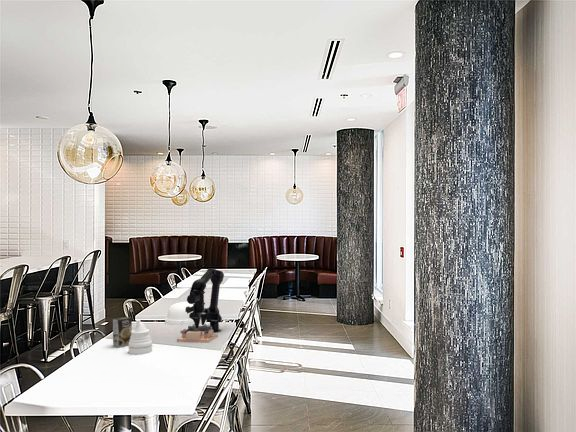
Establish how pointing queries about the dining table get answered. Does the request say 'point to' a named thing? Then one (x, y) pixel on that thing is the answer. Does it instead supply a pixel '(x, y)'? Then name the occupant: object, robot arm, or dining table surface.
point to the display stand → (196, 336)
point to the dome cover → (179, 315)
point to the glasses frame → (199, 328)
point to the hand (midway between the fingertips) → (199, 326)
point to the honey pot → (140, 340)
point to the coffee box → (122, 331)
